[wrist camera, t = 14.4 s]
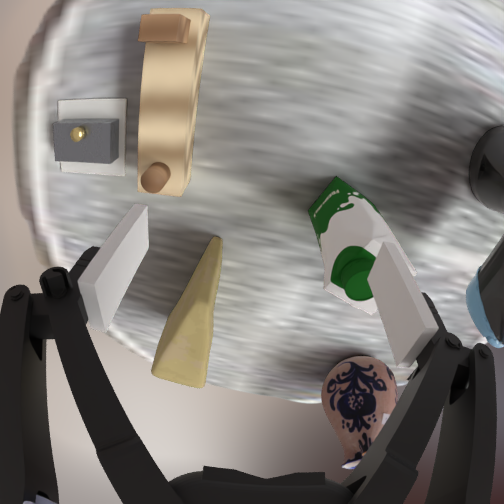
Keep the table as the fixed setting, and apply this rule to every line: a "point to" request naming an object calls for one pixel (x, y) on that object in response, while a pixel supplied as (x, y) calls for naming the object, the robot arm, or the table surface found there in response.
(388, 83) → the table surface
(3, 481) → the robot arm
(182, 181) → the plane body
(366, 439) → the ceramic pitcher
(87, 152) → the lever cap
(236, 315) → the table surface
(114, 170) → the mat
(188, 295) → the cheese
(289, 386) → the table surface
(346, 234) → the milk carton
